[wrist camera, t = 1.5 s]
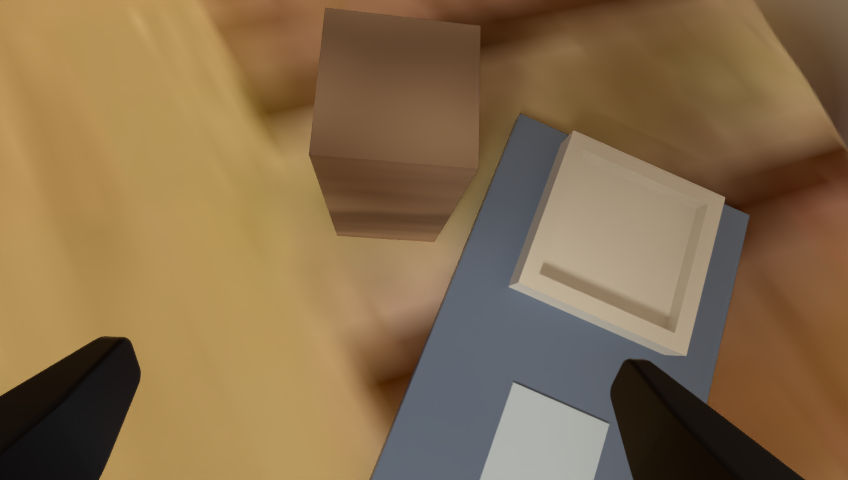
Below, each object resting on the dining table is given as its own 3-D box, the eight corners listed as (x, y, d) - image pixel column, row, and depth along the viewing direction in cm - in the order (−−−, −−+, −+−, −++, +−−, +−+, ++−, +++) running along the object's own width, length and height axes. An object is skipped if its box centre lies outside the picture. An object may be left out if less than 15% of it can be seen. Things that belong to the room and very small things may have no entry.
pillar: (433, 242, 23) (478, 168, 13) (337, 235, 22) (308, 154, 13) (437, 153, 24) (480, 25, 14) (345, 145, 23) (325, 7, 14)
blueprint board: (637, 648, 19) (672, 690, 17) (350, 525, 19) (347, 550, 17) (738, 219, 25) (775, 206, 23) (515, 120, 25) (530, 97, 22)
